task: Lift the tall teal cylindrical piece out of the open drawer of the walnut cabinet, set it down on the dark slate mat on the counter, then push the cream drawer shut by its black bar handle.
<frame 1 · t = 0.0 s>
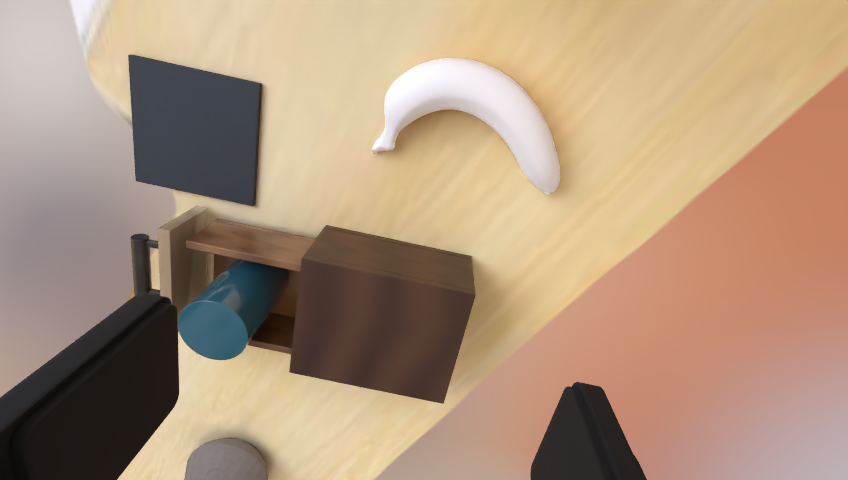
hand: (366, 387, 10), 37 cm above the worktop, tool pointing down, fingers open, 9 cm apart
teal cylindrical piece: (261, 275, 49), point 2 cm above the worktop, touching drawer
mat: (197, 134, 45), on the worktop
banana: (468, 144, 44), on the worktop
cabinet: (388, 292, 52), on the worktop
drawer: (230, 280, 47), point 4 cm above the worktop, slide at 13.0 cm, touching teal cylindrical piece
coffee pot: (246, 434, 62), on the worktop
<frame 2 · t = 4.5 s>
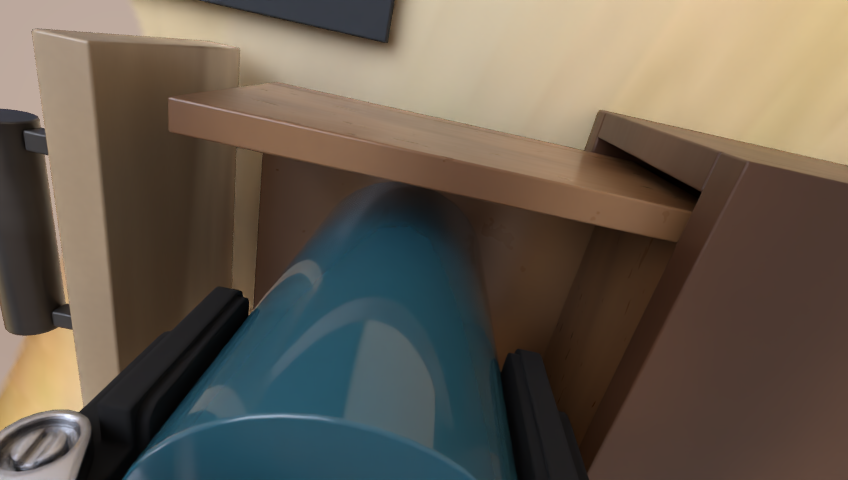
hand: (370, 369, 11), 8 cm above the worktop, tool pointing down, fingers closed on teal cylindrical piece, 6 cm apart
teal cylindrical piece: (398, 262, 17), point 2 cm above the worktop, touching drawer, gripper
cabinet: (725, 309, 19), on the worktop
drawer: (319, 276, 14), point 4 cm above the worktop, slide at 13.0 cm, touching teal cylindrical piece
when the fingers open (7 cm above the worktop, at t = 12.3 s): teal cylindrical piece stays where it is, resting on mat.
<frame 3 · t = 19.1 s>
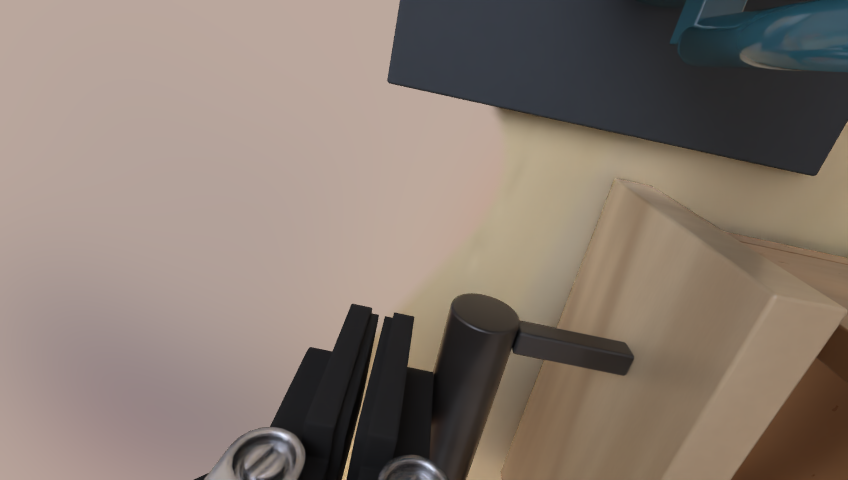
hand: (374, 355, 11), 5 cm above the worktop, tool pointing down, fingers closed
drawer: (766, 462, 12), point 4 cm above the worktop, slide at 12.8 cm, touching gripper
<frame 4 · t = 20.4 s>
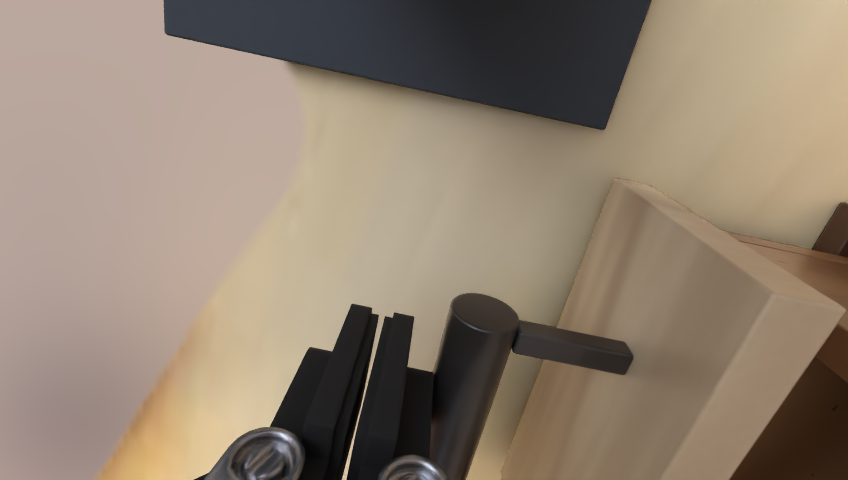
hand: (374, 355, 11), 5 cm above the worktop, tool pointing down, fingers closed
drawer: (766, 461, 12), point 4 cm above the worktop, slide at 6.3 cm, touching gripper
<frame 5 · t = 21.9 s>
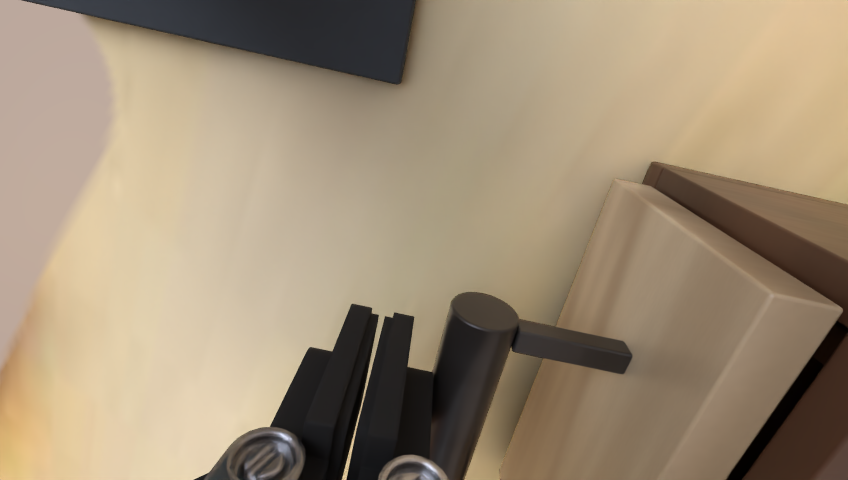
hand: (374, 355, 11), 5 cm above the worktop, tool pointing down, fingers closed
cabinet: (788, 383, 16), on the worktop
drawer: (763, 461, 12), point 4 cm above the worktop, slide at 0.1 cm, touching gripper
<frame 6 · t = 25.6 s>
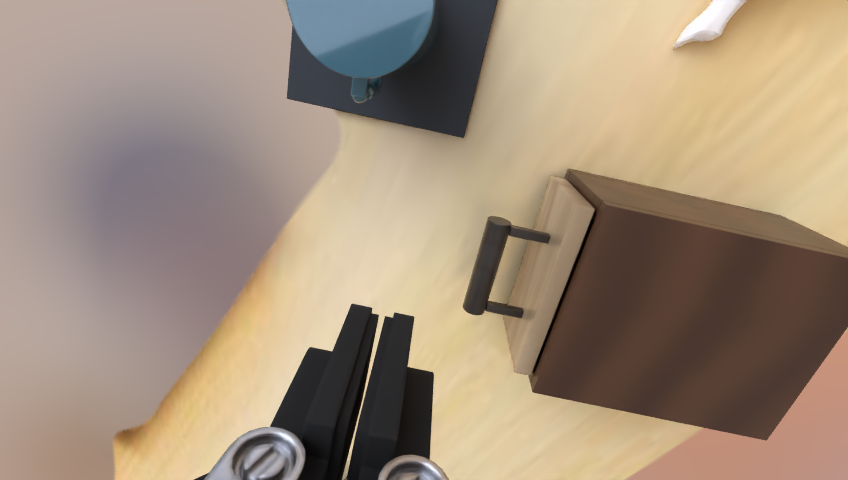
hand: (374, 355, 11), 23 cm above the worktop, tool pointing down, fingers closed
teal cylindrical piece: (391, 19, 28), point 1 cm above the worktop, touching mat
mat: (392, 20, 29), on the worktop
banana: (828, 32, 28), on the worktop
cabinet: (639, 271, 35), on the worktop
drawer: (609, 288, 31), point 4 cm above the worktop, slide at 0.1 cm
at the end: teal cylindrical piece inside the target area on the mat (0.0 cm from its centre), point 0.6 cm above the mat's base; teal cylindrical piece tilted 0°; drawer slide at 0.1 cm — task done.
